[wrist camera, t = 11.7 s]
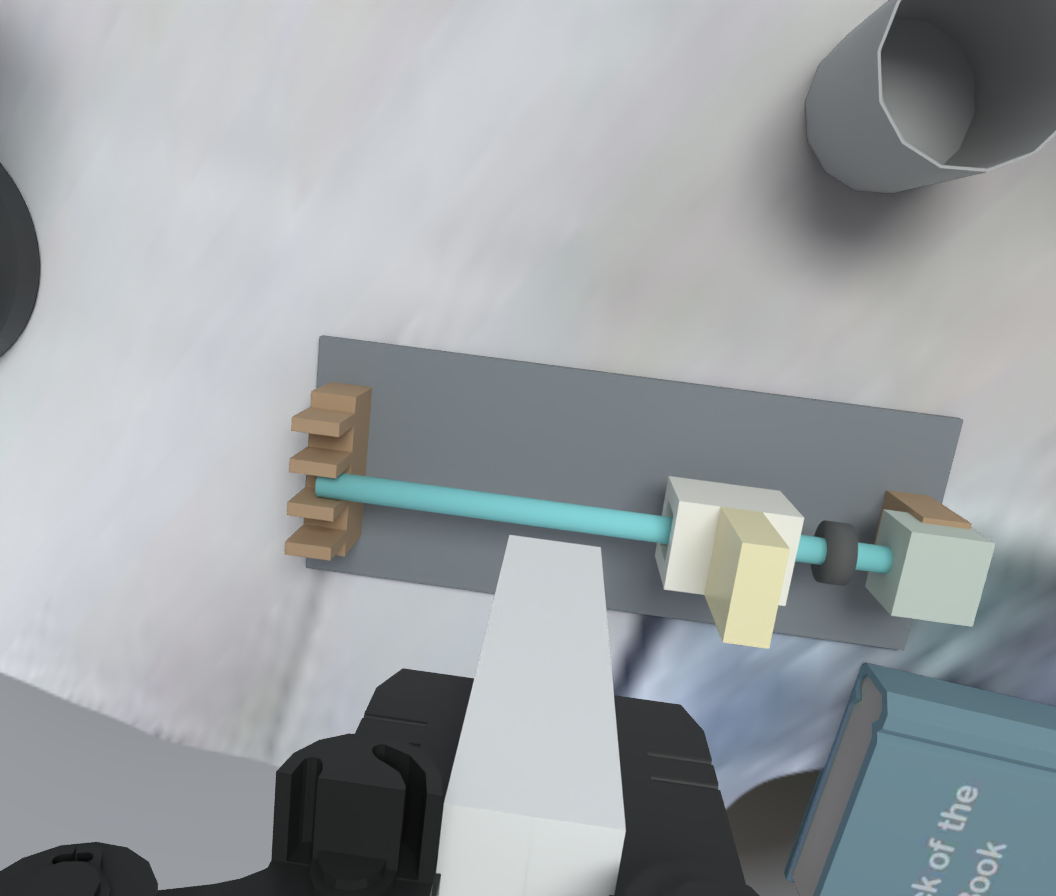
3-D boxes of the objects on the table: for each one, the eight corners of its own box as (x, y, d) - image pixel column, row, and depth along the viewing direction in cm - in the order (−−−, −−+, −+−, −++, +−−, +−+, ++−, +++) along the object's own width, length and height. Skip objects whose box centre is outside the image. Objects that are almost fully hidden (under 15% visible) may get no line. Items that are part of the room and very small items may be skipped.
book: (783, 872, 52) (805, 935, 47) (861, 655, 48) (893, 700, 43) (1121, 951, 52) (1177, 1022, 47) (1225, 740, 48) (1299, 794, 43)
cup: (791, 185, 42) (857, 161, 32) (818, 14, 40) (897, -67, 30) (953, 198, 41) (1070, 178, 32) (988, 27, 39) (1124, -51, 30)
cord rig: (309, 563, 48) (262, 616, 41) (322, 335, 45) (274, 349, 38) (900, 645, 47) (958, 714, 40) (958, 417, 44) (1033, 448, 37)
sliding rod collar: (654, 555, 43) (676, 635, 34) (668, 476, 42) (694, 535, 33) (763, 570, 43) (815, 655, 34) (780, 490, 42) (838, 555, 33)
